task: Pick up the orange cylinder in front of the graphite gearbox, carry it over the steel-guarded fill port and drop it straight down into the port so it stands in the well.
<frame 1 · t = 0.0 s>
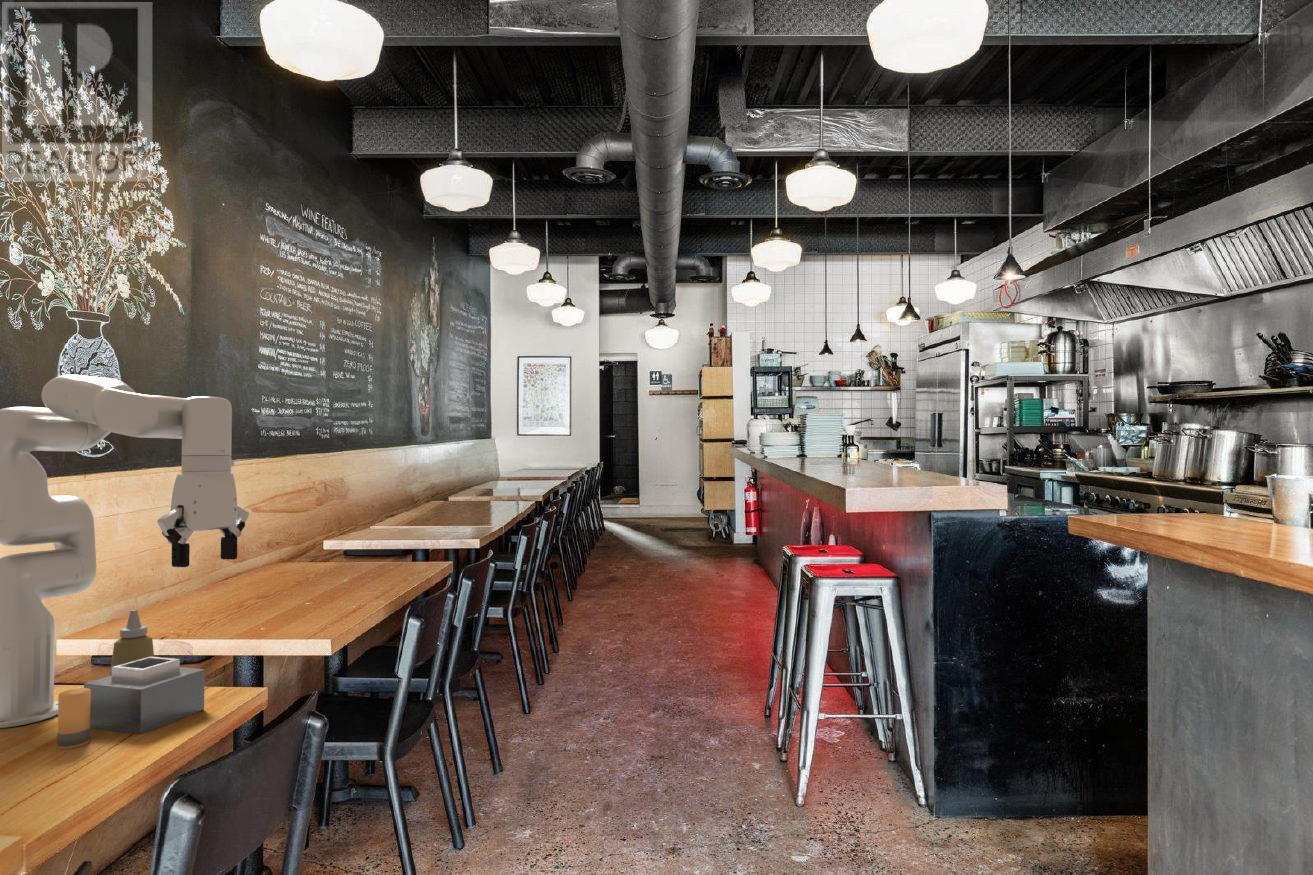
hand: (205, 562, 127), 31 cm above the table, tool pointing down, fingers open, 9 cm apart
gearbox: (145, 718, 138), on the table
orange cylinder: (73, 744, 125), on the table
squeeze bottle: (132, 697, 150), on the table
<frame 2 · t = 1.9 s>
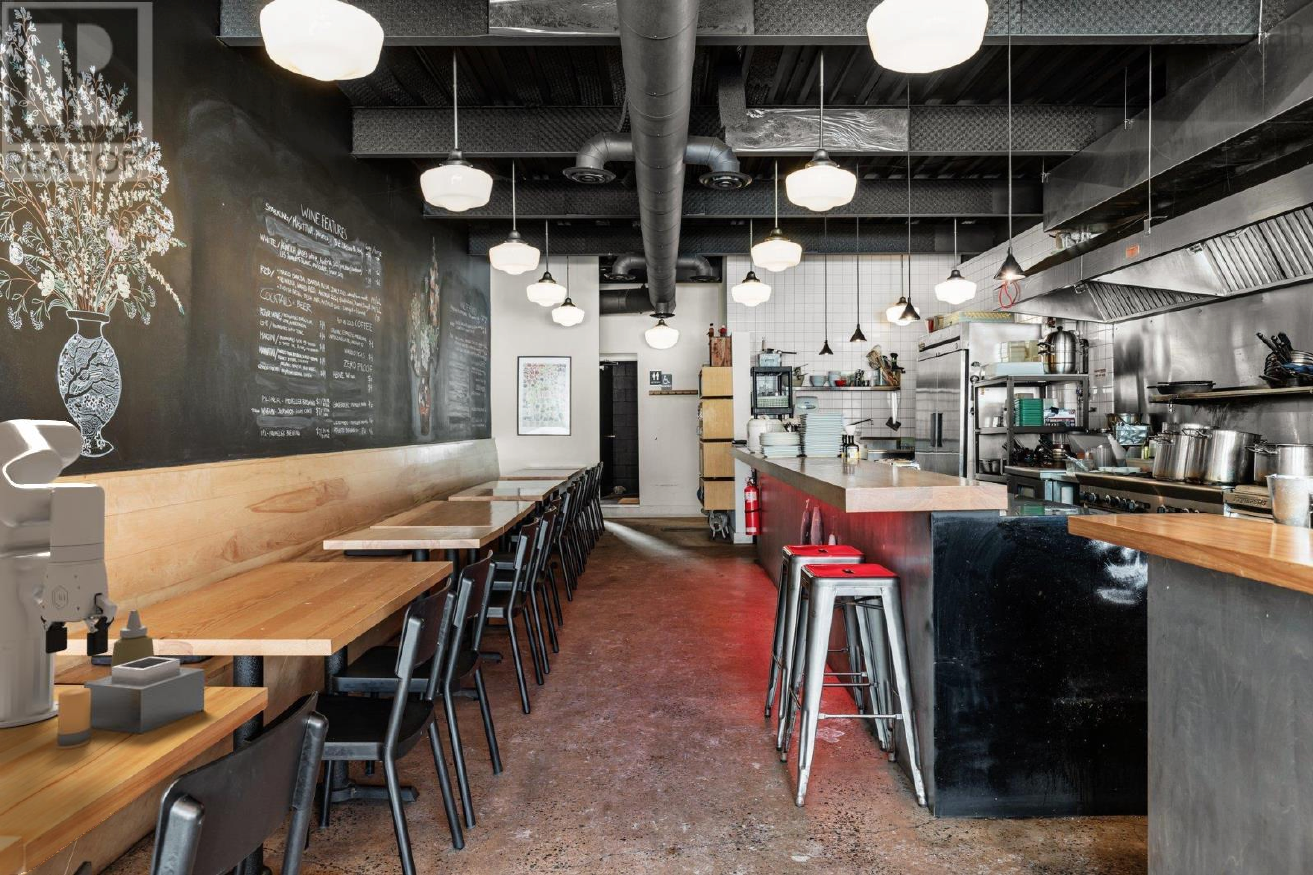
hand: (76, 653, 125), 16 cm above the table, tool pointing down, fingers open, 9 cm apart
nothing on the table moved.
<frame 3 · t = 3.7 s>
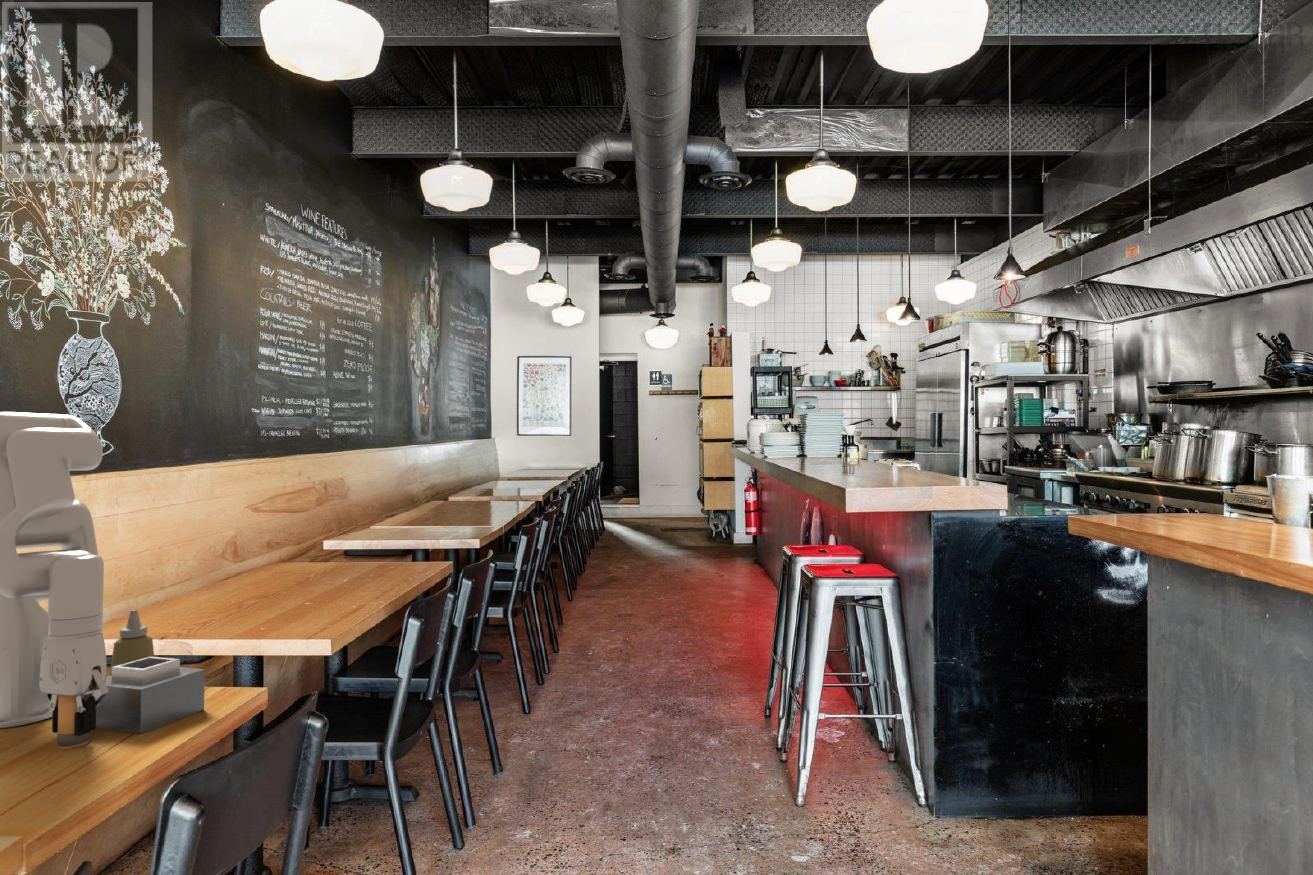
hand: (74, 730, 125), 2 cm above the table, tool pointing down, fingers closed on orange cylinder, 4 cm apart
orange cylinder: (73, 744, 125), on the table, touching gripper
everything else where it was.
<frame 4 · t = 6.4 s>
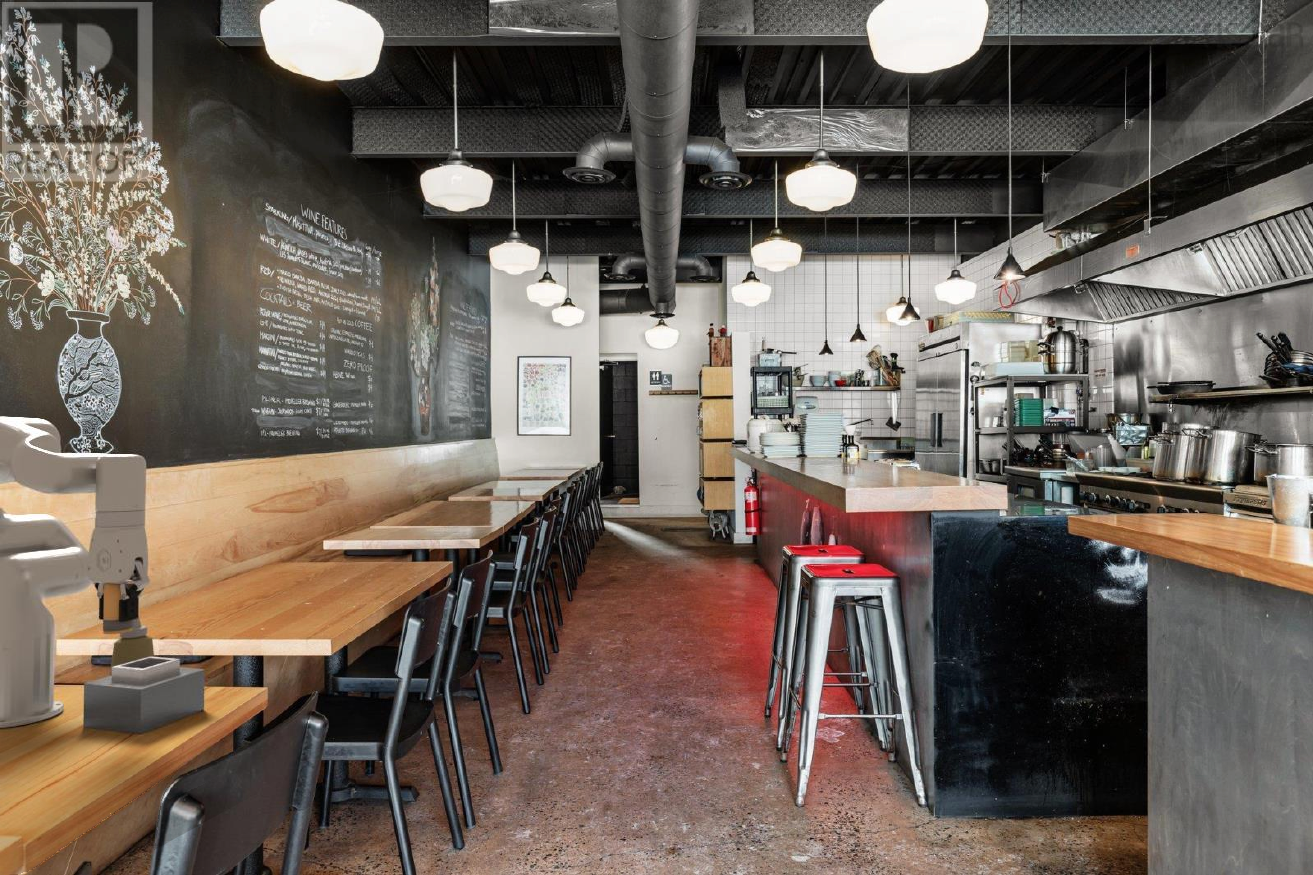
hand: (118, 618, 133), 20 cm above the table, tool pointing down, fingers closed on orange cylinder, 4 cm apart
orange cylinder: (118, 631, 133), point 18 cm above the table, touching gripper
everything else where it was.
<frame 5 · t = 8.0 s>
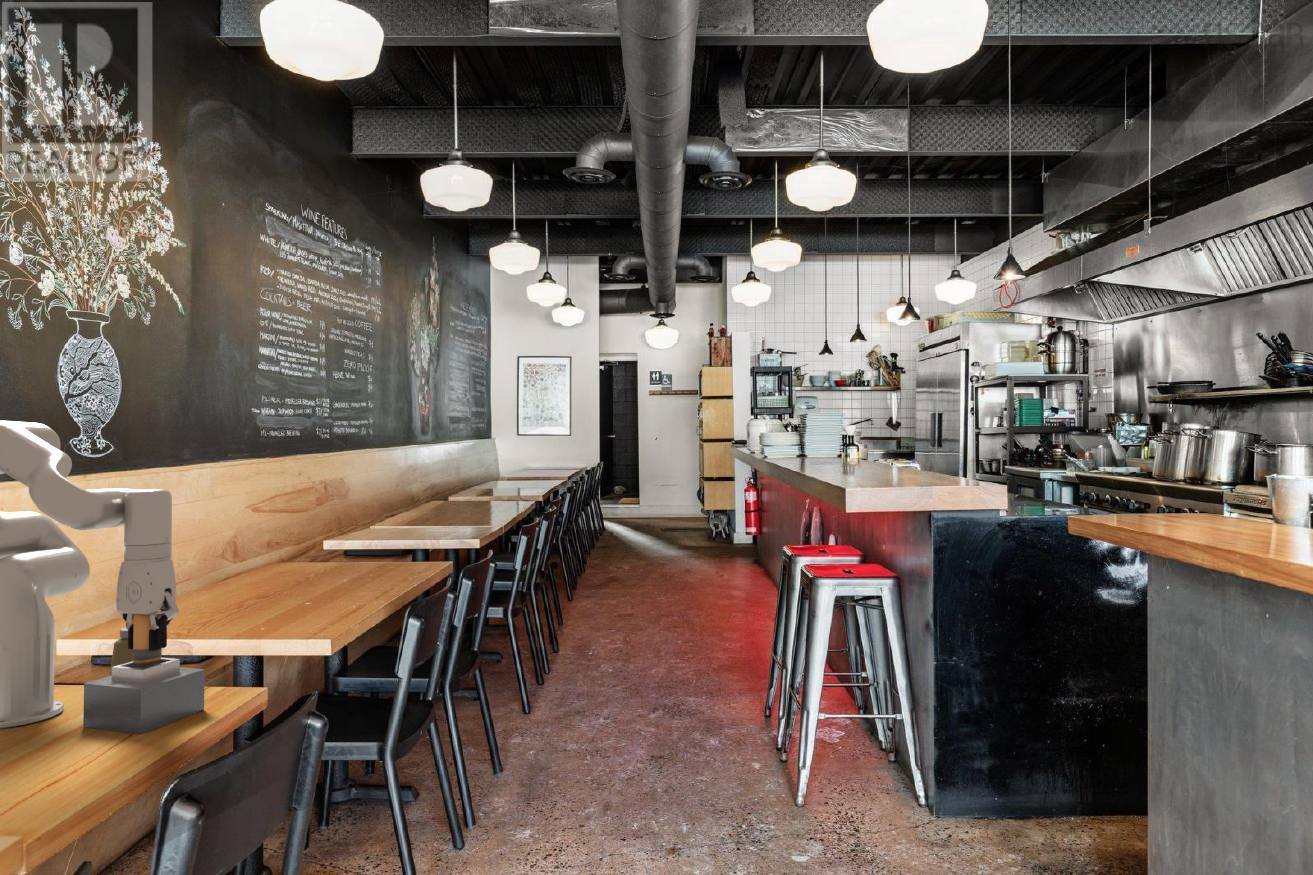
hand: (147, 647, 138), 14 cm above the table, tool pointing down, fingers closed on orange cylinder, 4 cm apart
orange cylinder: (147, 659, 138), point 11 cm above the table, touching gripper
everything else where it was.
when the fingers open (12 cm above the table, at t = 9.3 s): orange cylinder drops 7 cm, resting on gearbox.
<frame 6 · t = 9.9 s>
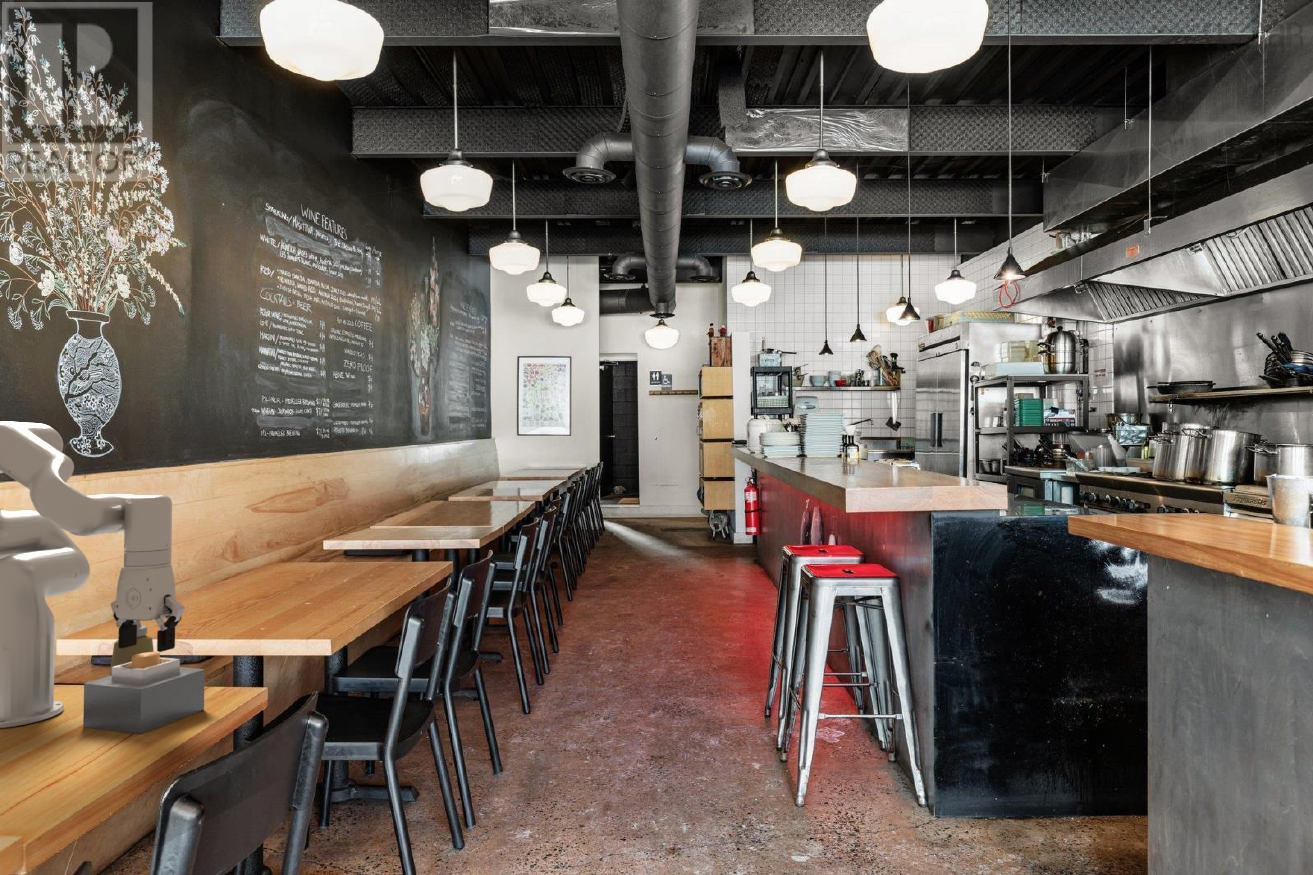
hand: (146, 648, 138), 13 cm above the table, tool pointing down, fingers open, 9 cm apart
orange cylinder: (144, 702, 138), point 3 cm above the table, touching gearbox
everything else where it was.
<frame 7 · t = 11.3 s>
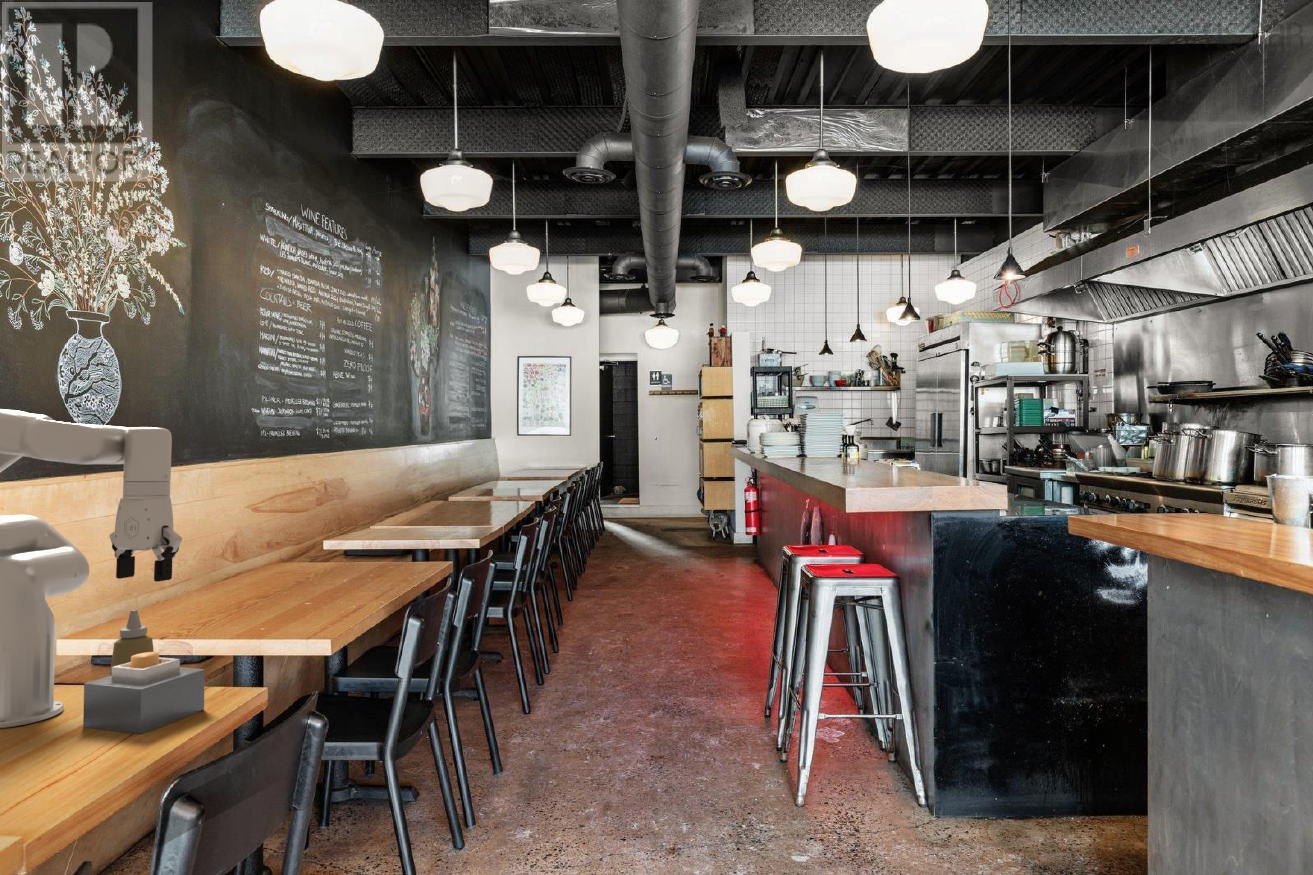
hand: (143, 579, 139), 27 cm above the table, tool pointing down, fingers open, 9 cm apart
nothing on the table moved.
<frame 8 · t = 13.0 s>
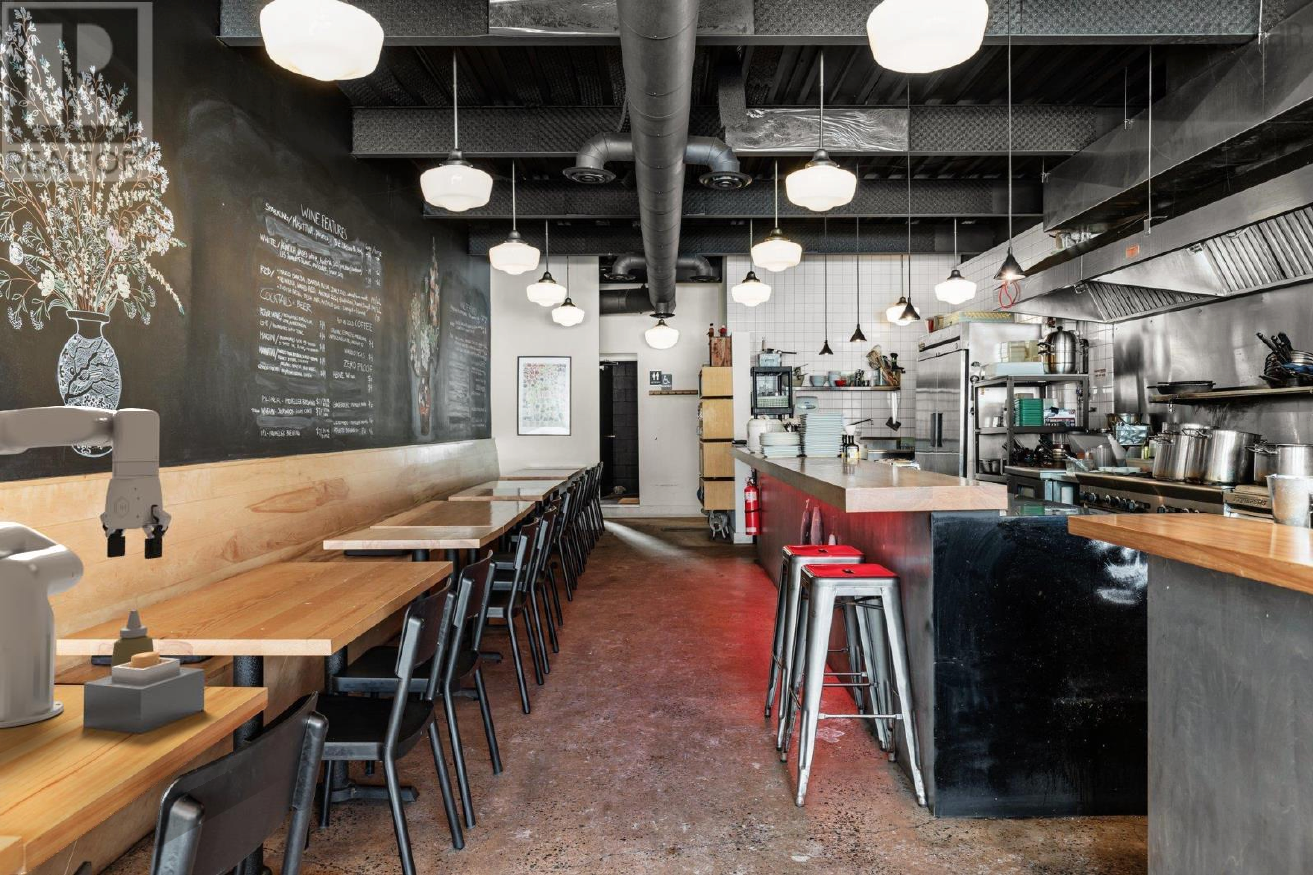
hand: (134, 557, 142), 30 cm above the table, tool pointing down, fingers open, 9 cm apart
nothing on the table moved.
at the end: orange cylinder 0.2 cm off-centre on the gearbox, point 3.0 cm above the gearbox's base; orange cylinder tilted 1°; the gripper is holding nothing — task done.
